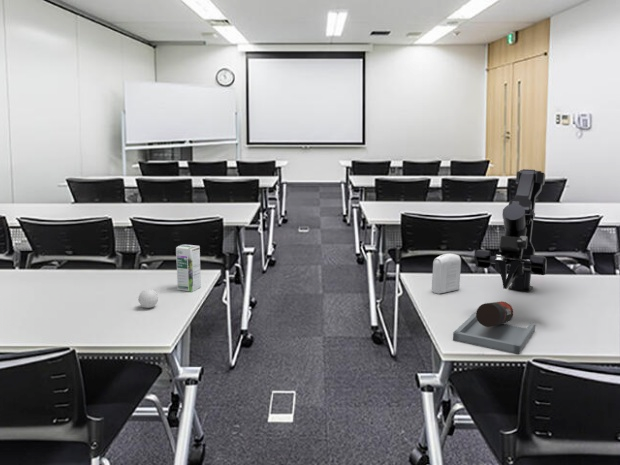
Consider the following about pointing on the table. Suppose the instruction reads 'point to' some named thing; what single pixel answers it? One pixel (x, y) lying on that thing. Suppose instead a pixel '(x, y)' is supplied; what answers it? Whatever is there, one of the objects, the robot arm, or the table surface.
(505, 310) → the deodorant
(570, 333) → the table surface
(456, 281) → the photo printer
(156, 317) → the table surface
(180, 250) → the syrup box
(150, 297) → the white bumpy ovoid
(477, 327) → the tray
